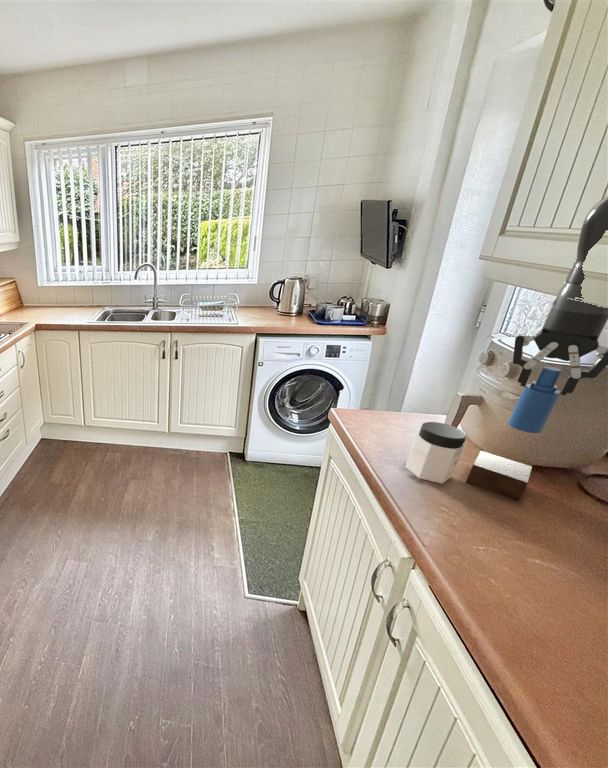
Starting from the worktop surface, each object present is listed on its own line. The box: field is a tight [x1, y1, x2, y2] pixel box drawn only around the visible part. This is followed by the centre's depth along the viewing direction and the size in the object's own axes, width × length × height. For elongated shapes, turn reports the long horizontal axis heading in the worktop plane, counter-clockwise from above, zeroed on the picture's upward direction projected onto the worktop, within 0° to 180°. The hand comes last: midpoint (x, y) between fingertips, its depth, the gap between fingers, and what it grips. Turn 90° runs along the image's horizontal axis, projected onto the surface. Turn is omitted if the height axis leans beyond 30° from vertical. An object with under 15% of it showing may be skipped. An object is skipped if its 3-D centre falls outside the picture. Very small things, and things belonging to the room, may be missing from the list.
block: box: [465, 450, 533, 502], centre depth 93 cm, size 9×9×5 cm
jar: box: [405, 421, 467, 485], centre depth 96 cm, size 9×8×12 cm
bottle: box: [507, 366, 563, 434], centre depth 84 cm, size 5×5×14 cm
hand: (542, 389), depth 83 cm, fingers closed on bottle, 5 cm apart
